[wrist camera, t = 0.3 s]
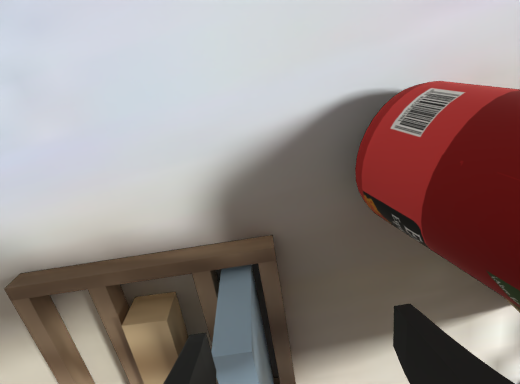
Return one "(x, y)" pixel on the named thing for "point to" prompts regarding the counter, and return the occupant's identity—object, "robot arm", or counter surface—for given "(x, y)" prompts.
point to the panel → (240, 331)
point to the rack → (116, 308)
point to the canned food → (450, 175)
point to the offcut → (155, 335)
